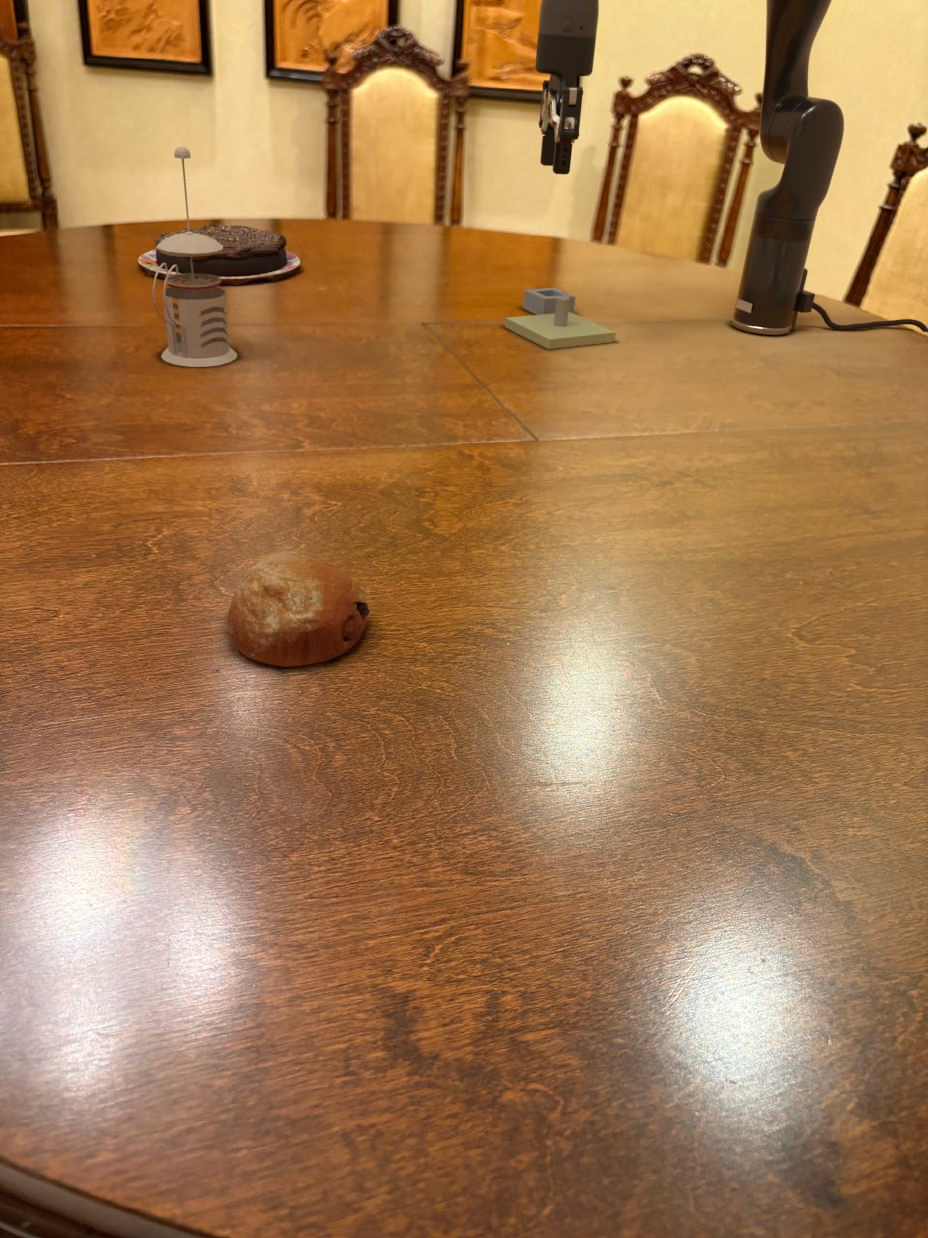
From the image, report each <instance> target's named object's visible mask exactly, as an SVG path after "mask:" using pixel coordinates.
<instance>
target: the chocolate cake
mask: <svg viewBox="0 0 928 1238" xmlns="http://www.w3.org/2000/svg"><path fill="white" fill-rule="evenodd" d="M187 231H188V227H186V226H185V227H184V228H183V229H181V230H178V231H171V232H170V231H168V232H162V233H160V234H158V236H157V237H156V240H155V242H154V243H155V246H156V247H157V245H158V244H159V243H160V242H162V241H163V240H164V239H166V238H168V237H170V236H172V235H175V234H181V233H185V232H187ZM190 231H191V232H192V233H197V234H201V235H205V236H208V237H210V238H213V239H215V240H216V241H217V242H219V243H220V244H221V245H223V249H222V251H221V252H220V253H217V254H214V255H208V256H196V257H192V263H193V273H194V274H195V273H196V274H198V273H199V274H200V273H201V274H204V275H205V274H206V275H207V274H209V275H214V276H215V275H216V276H217V277H219V278H220V279H221V280H222V283H221V284H226V285H231V286H240V285H243V284H246V283H251V282H260V281H269V282H275V281H278V280H280V279H283V278H286V277H289V276H292V275H294V274H297V273H301V270H300V269H298V268H299V267H300V266H301V264H302V261H301V259H300V258H299V256H298V255H296V254H294V253H292V252H290V251H287V250H286V249H285V247H286V246H287V242H288V241H287V238H285V237H286V236H284V235H283V234H281V233H277V232H273V231H270V230H269V229H265V230H262V229H258V228H256V227H250V226H248V225H247V226H246V225H244V226H243V225H242V224H241V225H240V224H239V225H235V224H233V225H231V224H230V225H227V224H211V223H210V224H209V225H206V224H205V225H204V226H200V227H195V228H190ZM137 263H138V264H139V266H140V267H141V268H142V269H143V270H144V271H145V273H146V274H147V276H148V277H155V274H156V272H157V269H158V268H159V267H160V266H161V264H162V263H166V265H167V269H168V271H169V270H170V269H171V267H172V266H173V265H177V267H178V275H179V274H180V273H181V274H182V273H183V274H185V273H186V274H187V273H188V274H190V273H191V274H192V271H191V260H190V257H179V256H171V255H166V254H163V253H161V252H159V251H158V249H157V248H156V249H152V250H149V251H148V252H145V253H143V254H141V255H139V257H138V258H137ZM170 273H172V274H176V267H174V268H173V269H172V270H171V272H170ZM169 276H170V275H169ZM166 277H167V272H166V270H165V265H163V266H162V267H161V269H160V270H159V272H158V275H157V278H160V279H164V280H165V278H166Z"/></svg>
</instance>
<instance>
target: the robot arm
mask: <svg viewBox="0 0 928 1238" xmlns="http://www.w3.org/2000/svg"><path fill="white" fill-rule="evenodd" d="M765 2H766V12H765V13H766V15H765V16H766V18H765V19H766V21H765V57H764V58H765V59H764V60H765V61H764V75H763V85H762V87H763V88H762V94H761V95H762V96H761V107H760V118H759V143H760V146H761V151H762V152H763V153H764V155H765V157H766V158H767V159H768V160H770V161H772V162H774V163H777V164H780V165H784V166H783V170H782V173H781V176H780V179H779V181H778V182H777V184H775V185H774V186H773V187H771V188H768V189H765V190H763V191H761V192H759V194H758V196H757V199H756V203H755V207H754V213H753V218H752V223H751V228H750V234H749V239H748V243H747V247H746V253H745V256H744V257H745V258H744V263H743V266H742V272H741V278H740V281H739V287H738V291H737V296H736V301H735V307H734V311H733V315H732V318H731V325H732V327H734V328H736V329H738V330H741V331H743V332H747V333H752V334H755V335H756V334H757V335H764V336H765V335H766V336H781V335H786V334H787V335H788V334H789V333H790V332H791V331H794V330H795V327H796V323H797V319H798V315H799V313H802V314H806V313H811V312H812V309H813V310H814V311H816V312H817V313H818V314H819V315H820V316H821V318H822V319H823V322H824V324H825V325H826V326H827V327H828V328H830V329H831V330H835V331H840V332H841V331H853V330H865V329H872V328H879V327H881V328H882V327H893V326H903V325H911V326H915V327H917V328H918V329H919V330H921V331H922V332H924V333H928V326H927V325H926V324H924V323H923V322H922V321H920V320H917V319H913V318H900V319H893V320H875V321H870V322H860V323H850V324H837V323H835V322H833V321H832V320H831V318H830V316H829V314H828V313H827V311H826V309H824V308H823V306H821V305H819V304H817V302H815V296H816V294H815V293H813V292H810V291H807V290H805V286H806V280H807V277H808V273H809V272H808V271H809V270H808V269H807V268H806V263H807V258H808V254H809V250H810V246H811V242H812V237H813V233H814V228H815V224H816V220H817V216H818V212H819V209H820V207H821V205H822V204H823V202H824V201H825V199H826V197H827V195H828V193H829V189H830V186H831V182H832V180H833V175H834V172H835V169H836V165H837V163H838V158H839V155H840V151H841V147H842V143H843V138H844V133H845V118H844V117H845V116H844V113H843V110H842V108H841V107H840V105H839V104H838V103H836V102H835V101H833V100H831V99H828V98H827V99H826V98H821V97H812V96H809V65H810V58H811V57H810V56H811V52H812V48H813V44H814V43H815V39H816V37H817V35H818V32H819V30H820V28H821V26H822V24H823V21H824V19H825V17H826V15H827V12H828V10H829V8H830V5H831V4H832V0H766V1H765ZM599 3H600V0H541V2H540V8H539V17H538V19H539V20H538V29H537V31H538V32H537V42H536V55H535V68H534V69H535V71H536V72H537V73H539V74H546V75H549V80H547V79H544V80H543V82H542V84H541V86H542V90H541V91H542V92H541V102H540V111H539V120H538V128H539V129H540V134H541V135H542V138H541V149H540V161H539V162H540V164H541V165H542V166H545V167H552V173H554V174H555V175H568V174H570V172H571V163H572V153H573V145H574V144H575V141H576V140H578V139H579V136H580V126H581V116H582V115H581V114H582V105H583V95H584V88H583V86H577V78H578V77H589V76H591V75H592V73H593V69H594V62H595V61H594V60H595V52H596V42H597V33H598V23H599V14H600V13H599V11H600V6H599V5H600V4H599Z"/></svg>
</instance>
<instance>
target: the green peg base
mask: <svg viewBox="0 0 928 1238" xmlns="http://www.w3.org/2000/svg"><path fill="white" fill-rule="evenodd" d="M569 302H570V298H569V297H565V296H558V297H557V298H556V307H555V313H553V314H542V315H536V314H534V315H533V314H532V315H523V316H510V317H505V323H504V324H505V325H504V327H505V328H506V329H507V330H509V331H511V332H512V333H513V332H514V333H515V334H517V335H518V336H521V337H523V338H525V339H527V340H529V341H531V342H533V343H535V344H537V345H539V346H540V347H542V348H545V349H546V350H555V349H556V350H557V349H564V348H575V347H584V346H590V345H591V346H592V345H601V344H611V343H615V341H616V334H617V333H616V331H614V330H611V329H610V328H607V327H604V326H603V325H601V324H598V323H596V322H593V321H591V320H589V319H587V318H584V317H582V316H580V315H578V314H576V313H574V314H573V313H571V312H568V311H569Z"/></svg>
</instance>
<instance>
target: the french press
mask: <svg viewBox="0 0 928 1238" xmlns="http://www.w3.org/2000/svg"><path fill="white" fill-rule="evenodd" d="M173 156H174V158H176V159H181V164H182V176H183V189H184V200H185V211H186V224H187V228H188V231H187V232H185V233H181V234H175V235H172V236H170V237H168V238H166V239H164V240H163V241H162V242H160V243H159V244H158V245H157V246H156V249H158V251H159V252H161V253H163V254H166V255H171V256H179V257H190V260H191V271H192V274H191V273H190V274H188V273H187V274H186V273H185V274H183V273H182V274H181V273H180V274H179V275H178V267H177V265H173V266H172V267H171V269H170V270H169V271H168V269H167V265H166V263H162V264H161V266H160V267H159V268H158V269H157V272H156V274H155V276H154V279H153V282H152V283H153V285H152V298H153V299H152V300H153V305H154V308H155V311H156V313H157V315H158V317H159V318H160V319H161V320H162V321H163V322H164V323H165V329H166V338H167V347H166V348H165V350H164V351H163V352H162V354H161V356H160V358H161V359H162V360H163V361H164V362H166V363H169V364H172V365H175V366H182V367H189V368H207V367H217V366H221V365H225V364H228V363H232V362H233V361H234V360H236V359H237V358H238V353H237V352H236V351H235V350H234V349H233V348H231V346H230V343H229V333H228V332H227V331H228V330H229V325H228V323H227V322H226V321H228V314H227V313H226V311H227V297H226V291H225V290H224V289H222V288H220V287H219V286H221V284H223V283H222V280H221V279H220V278H219V277H217V276H216V275H215V276H214V275H209V274H207V275H206V274H205V275H204V274H201V273H200V274H199V273H198V274H196V273H195V274H194V273H193V263H192V257H196V256H208V255H214V254H217V253H220V252H221V251H222V249H223V245H221V244H220V243H219V242H217V241H216V240H215V239H213V238H210V237H208V236H205V235H201V234H197V233H192V232H191V231H190V229H191V228H190V218H189V217H190V216H189V206H188V205H189V204H188V194H187V183H186V182H187V181H186V170H185V159H191V157H192V156H191V152H190V150H189V149H188V148H187V147H184V146H179V147H176V148H175V150H174V155H173ZM163 265H165V270H166V272H167V277H166V278H165V279H164V280H163V282H164V283H163V291H162V296H163V297H162V298H163V307H164V316H165V317H163V316H162V315H161V313H160V310H159V308H158V306H157V305H158V304H157V298H156V291H155V290H156V282H157V278H158V277H157V275H158V272H159V270H160V269H161V267H162V266H163ZM174 267H176V274H172V273H170V272H171V270H172V269H173V268H174ZM169 275H170V276H169ZM167 286H168V287H167ZM174 299H175V300H176V301H177V303H175V302H174V301H173V300H174ZM174 309H175V310H177V311H178V313H176V312H175V311H174ZM199 313H200V315H199ZM175 319H176V320H178V321H176V320H175ZM200 324H201V325H200ZM177 329H178V330H179V331H180V332H177Z"/></svg>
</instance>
